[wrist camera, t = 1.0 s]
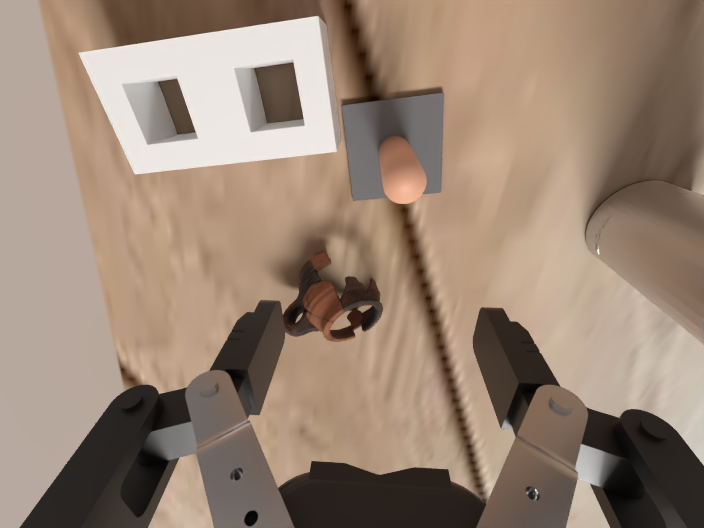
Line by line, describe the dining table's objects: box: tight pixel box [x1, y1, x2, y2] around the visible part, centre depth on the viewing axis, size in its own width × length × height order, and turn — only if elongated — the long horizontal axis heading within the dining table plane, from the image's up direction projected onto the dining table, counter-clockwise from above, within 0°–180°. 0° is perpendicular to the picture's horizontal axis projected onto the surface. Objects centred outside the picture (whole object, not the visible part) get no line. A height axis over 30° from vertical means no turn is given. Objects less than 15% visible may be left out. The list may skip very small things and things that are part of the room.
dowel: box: [379, 135, 427, 204], centre depth 26 cm, size 3×3×10 cm
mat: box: [342, 93, 444, 201], centre depth 31 cm, size 9×9×1 cm
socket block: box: [79, 16, 341, 174], centre depth 27 cm, size 18×9×5 cm, turn 97°
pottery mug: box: [283, 252, 383, 342], centre depth 38 cm, size 12×10×8 cm
